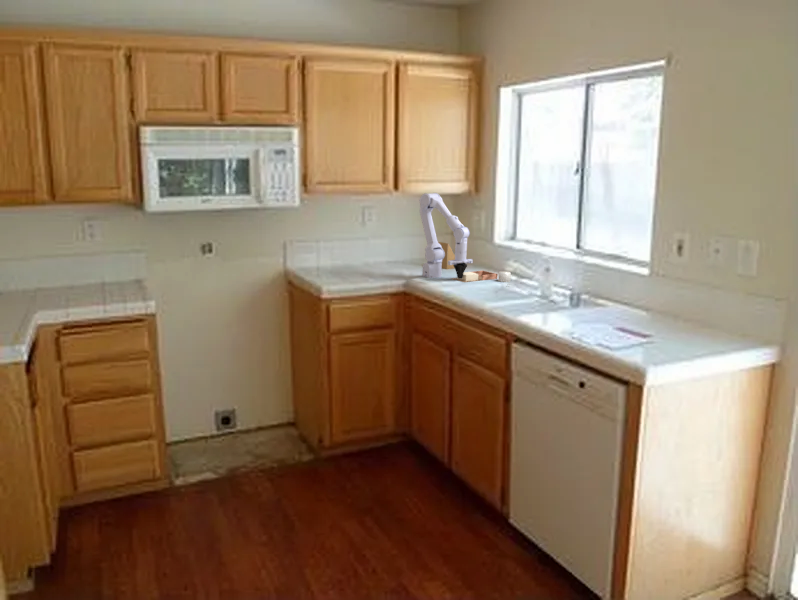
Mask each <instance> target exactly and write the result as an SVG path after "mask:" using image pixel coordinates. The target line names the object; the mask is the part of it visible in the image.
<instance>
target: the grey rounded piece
mask: <svg viewBox="0 0 798 600" xmlns="http://www.w3.org/2000/svg"><path fill="white" fill-rule="evenodd" d="M497 279H498V280H497V281H498V282H501V283H510V282H511V272H510V271H506V270H504V271H503V270H500V271H498V276H497ZM510 285H511V284H508V286H510Z"/></svg>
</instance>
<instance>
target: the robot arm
mask: <svg viewBox="0 0 798 600" xmlns="http://www.w3.org/2000/svg"><path fill="white" fill-rule="evenodd" d="M418 200H419V204H420V205H419V215H420V220H421V223H422V227H423V228H422V229H423V232H424V236H425V239H426V246H425V248H424V251H425V253H424V254H425V259H426V261H427V262H425V263H423V265H422V277H423V278H428V279H432V278H433V279H434V278H441V277H442V270H443V269H442V260H443V259H444V257H445V252H444V250H443V249H442V246H441V245H440V244H439V243H438V242H439V241H438V237H437V234H436V233H437V232H436V229H435V224H434V220H433V217H432V212H433V210H434V209H437V211H439V213H440V214H441V215H442V216H443V217H444V219H446V222H445V223H446V224H447V225H448V227H449V228H450V230H451V231H452V232H453V236H454V241H455V246H454V247H455V248H454V253H455V260H451V261H448V265H453V266H454V270H455V273H456V276H457V277H456V278H459V279H461V278H462V276H463V273H464V272H466V268H468V264H473V262H474V260H473V258H467V251H468V238H469V236H470V235H471V232H470V229H469V227H467V226H464V224H462V223H461V221H460V220H459V217H458V216H457V215H453V214H452V213H451V211H450V210H449V209H448V207H447V206H446V204H445V202H444V201H443V198H442V197H441V195H440V194H439V193H437V192H432V193H431V192H429V193H426V192H425V193H422V195H421V196H420V198H419V199H418Z"/></svg>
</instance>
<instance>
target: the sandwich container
mask: <svg viewBox="0 0 798 600" xmlns="http://www.w3.org/2000/svg"><path fill="white" fill-rule="evenodd" d="M438 243H439V244H440V245H441V246H442V249H443V250H444V252H445V257H444V259H443V260H442V269H441V270H453V269H454V270H455V268H454V266H453V265H448V261H451V260H455V251H454V250H453V249H452V247H451V246H450V244H449V243H448V242H442V241H438Z"/></svg>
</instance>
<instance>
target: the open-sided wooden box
mask: <svg viewBox="0 0 798 600" xmlns="http://www.w3.org/2000/svg"><path fill="white" fill-rule="evenodd" d="M471 272H472V273H476V274H478V280H472V281H464V280H460V279H457V277H454V278H449V279H450V280H454V281H458V282H460V283H470V282H471V283H472V282H473V283H474V282H482V281H489V280H497V279H498V277H499V273H495V272H491V271H486V270H475V271H471Z"/></svg>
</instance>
